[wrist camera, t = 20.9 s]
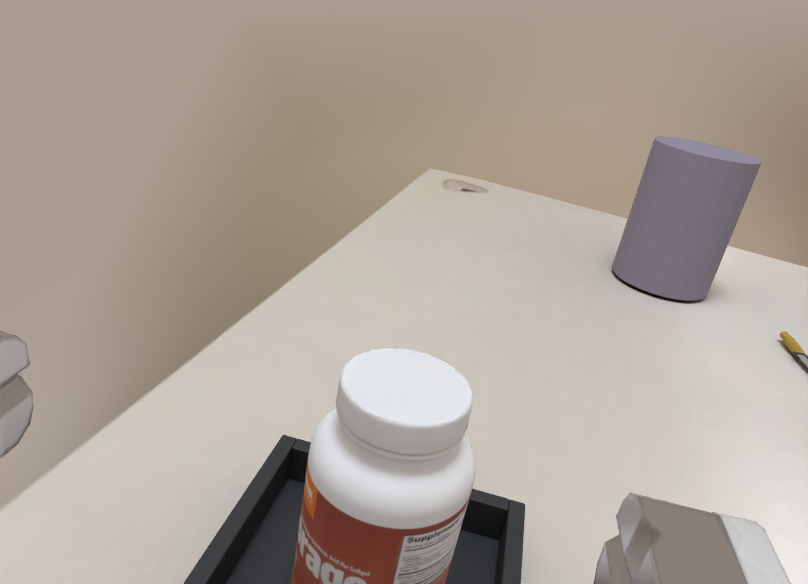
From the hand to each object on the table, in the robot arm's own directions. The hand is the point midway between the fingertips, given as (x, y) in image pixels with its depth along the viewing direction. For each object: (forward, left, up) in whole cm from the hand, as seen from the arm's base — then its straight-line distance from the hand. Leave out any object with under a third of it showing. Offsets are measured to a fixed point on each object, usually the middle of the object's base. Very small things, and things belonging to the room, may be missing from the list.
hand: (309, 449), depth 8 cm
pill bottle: (0, +12, -18) cm, 21 cm away
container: (+20, +63, -18) cm, 68 cm away
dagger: (+31, +49, -18) cm, 60 cm away
